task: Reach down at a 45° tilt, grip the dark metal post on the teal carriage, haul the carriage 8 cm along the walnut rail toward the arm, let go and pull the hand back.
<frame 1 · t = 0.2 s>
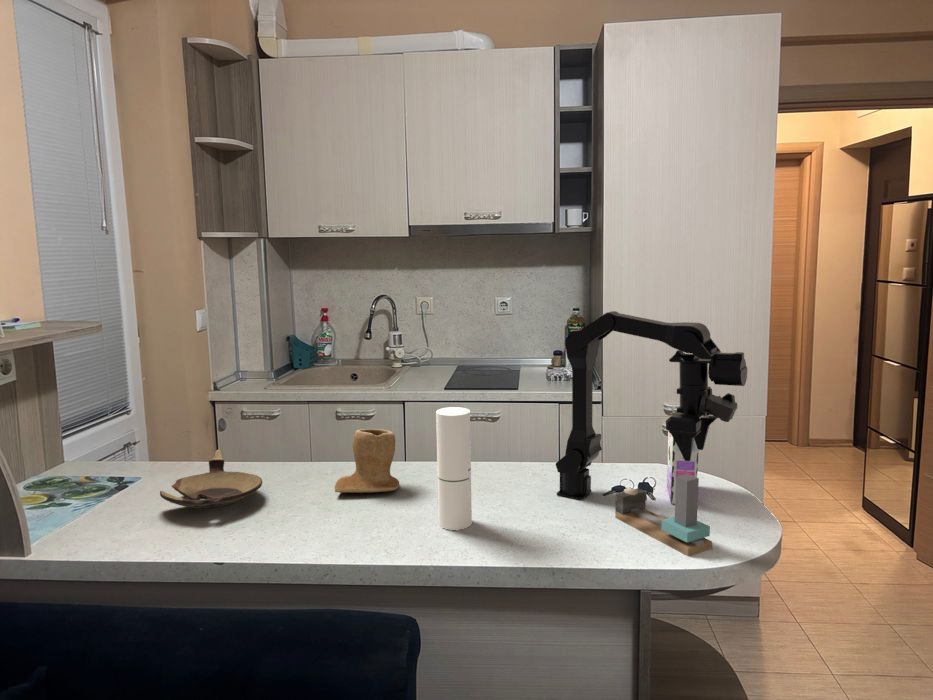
hand: (694, 455, 152), 14 cm above the counter, tool pointing down, fingers open, 9 cm apart
oil lamp: (219, 500, 171), on the counter
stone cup: (368, 489, 176), on the counter
candy box: (680, 495, 168), on the counter
carriage: (686, 505, 141), point 8 cm above the counter, slide at 0.0 cm
rail: (661, 532, 148), on the counter
cylindrical container: (455, 524, 154), on the counter
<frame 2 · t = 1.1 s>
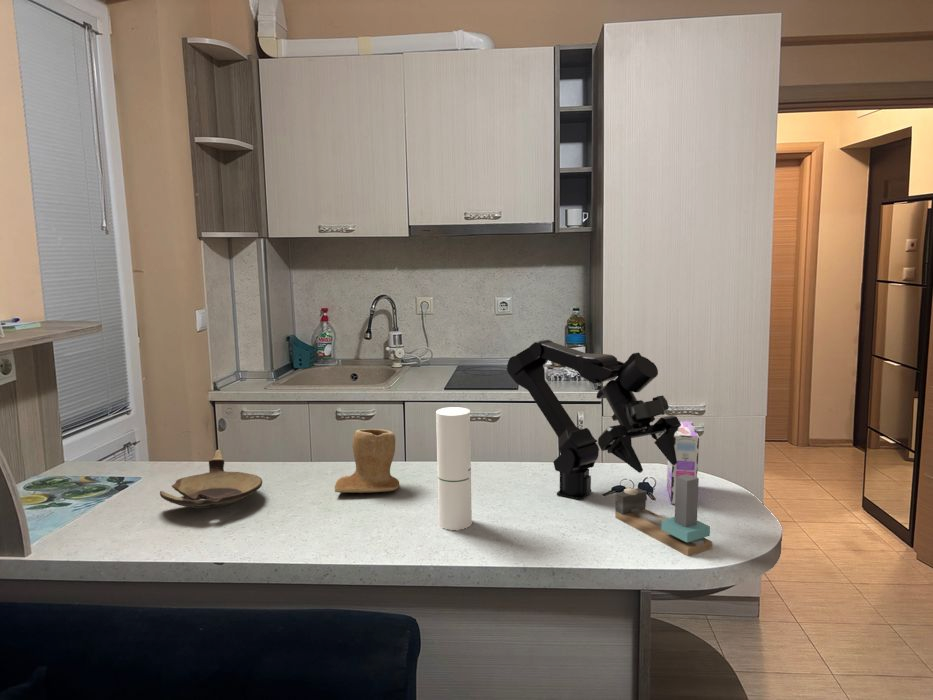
hand: (658, 468, 147), 14 cm above the counter, tool tilted 45°, fingers open, 9 cm apart
nothing on the counter moved.
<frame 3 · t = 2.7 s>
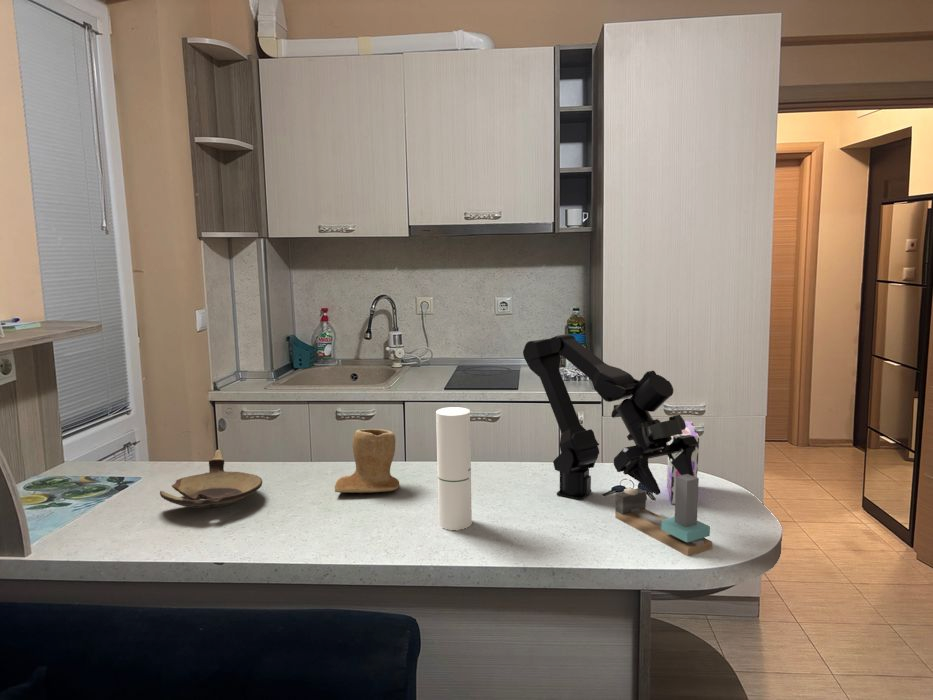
hand: (676, 489, 143), 11 cm above the counter, tool tilted 45°, fingers open, 9 cm apart
nothing on the counter moved.
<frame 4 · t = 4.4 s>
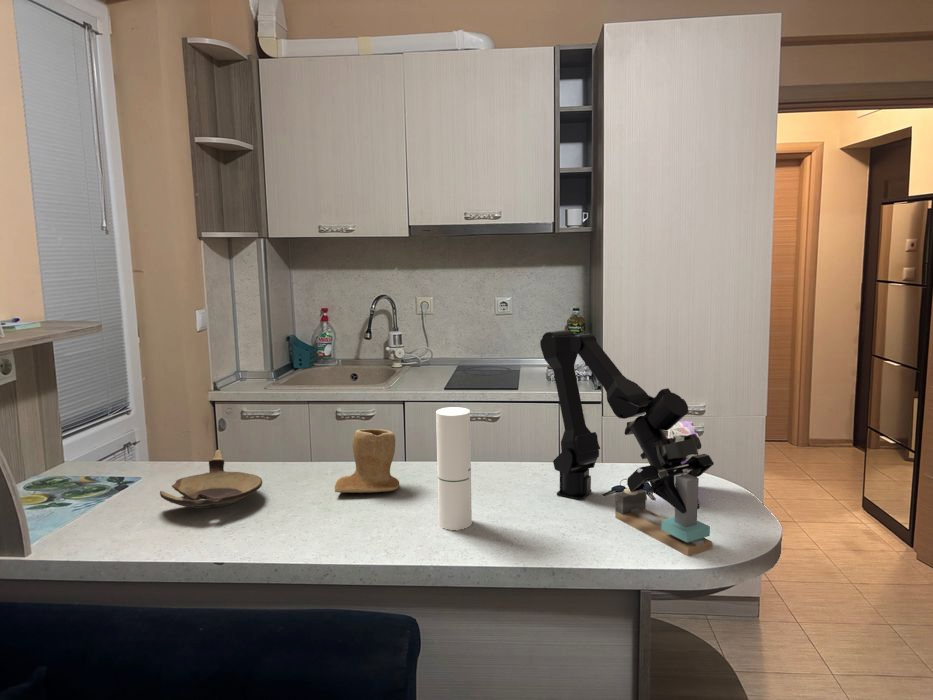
hand: (691, 510, 139), 8 cm above the counter, tool tilted 45°, fingers closed on carriage, 3 cm apart
carriage: (686, 505, 141), point 8 cm above the counter, slide at 0.0 cm, touching gripper
everything else where it was.
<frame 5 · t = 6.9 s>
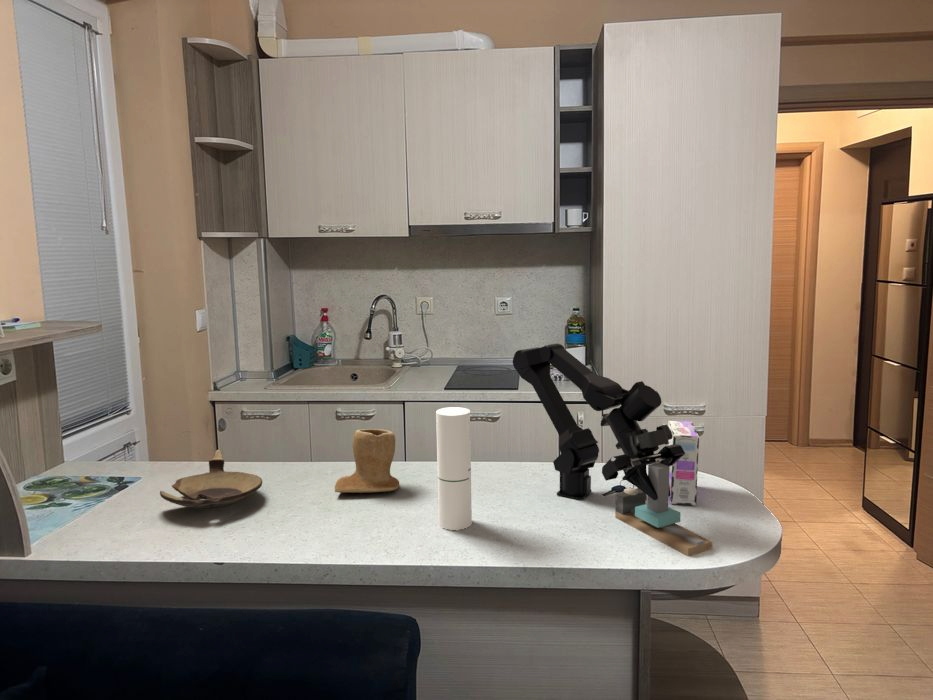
hand: (662, 497, 146), 8 cm above the counter, tool tilted 45°, fingers closed on carriage, 3 cm apart
carriage: (658, 492, 148), point 8 cm above the counter, slide at 8.0 cm, touching gripper
everything else where it was.
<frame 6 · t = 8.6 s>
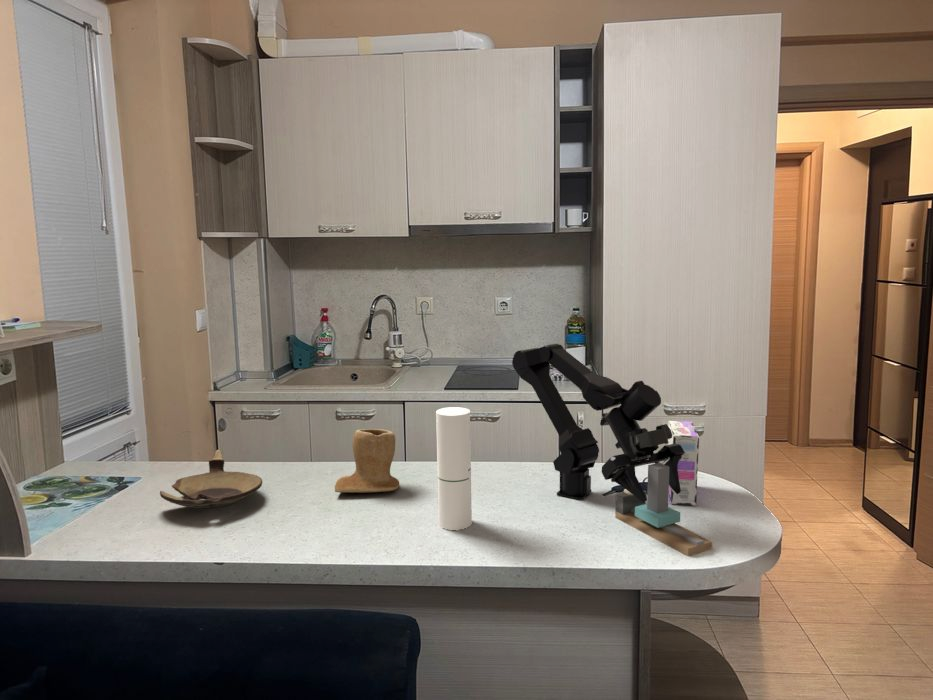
hand: (662, 497, 146), 8 cm above the counter, tool tilted 45°, fingers open, 9 cm apart
carriage: (657, 492, 148), point 8 cm above the counter, slide at 8.0 cm
everything else where it was.
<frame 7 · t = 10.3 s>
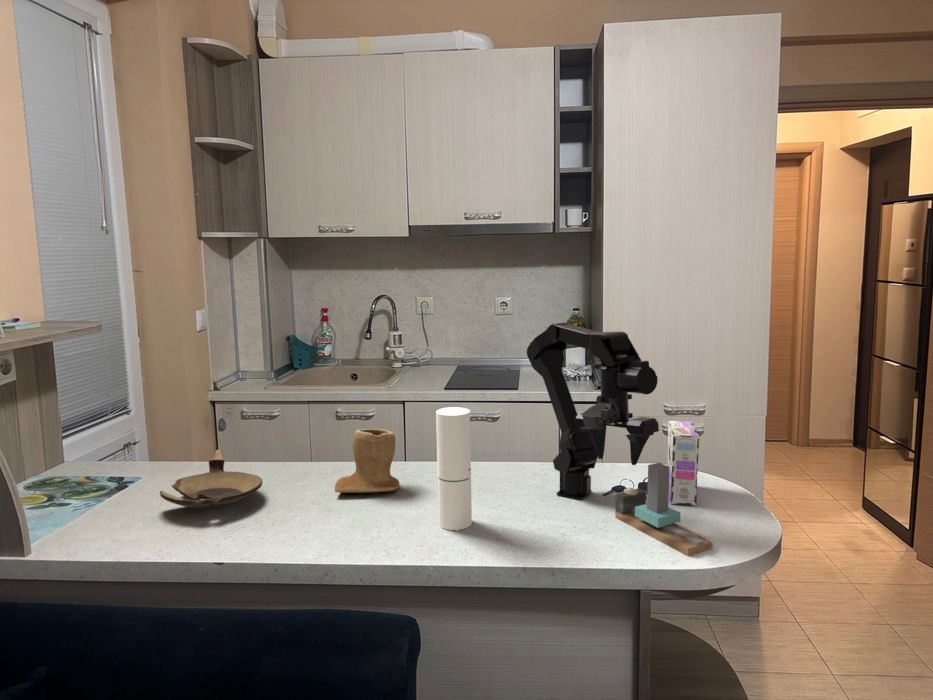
hand: (617, 461, 155), 12 cm above the counter, tool pointing down, fingers open, 9 cm apart
nothing on the counter moved.
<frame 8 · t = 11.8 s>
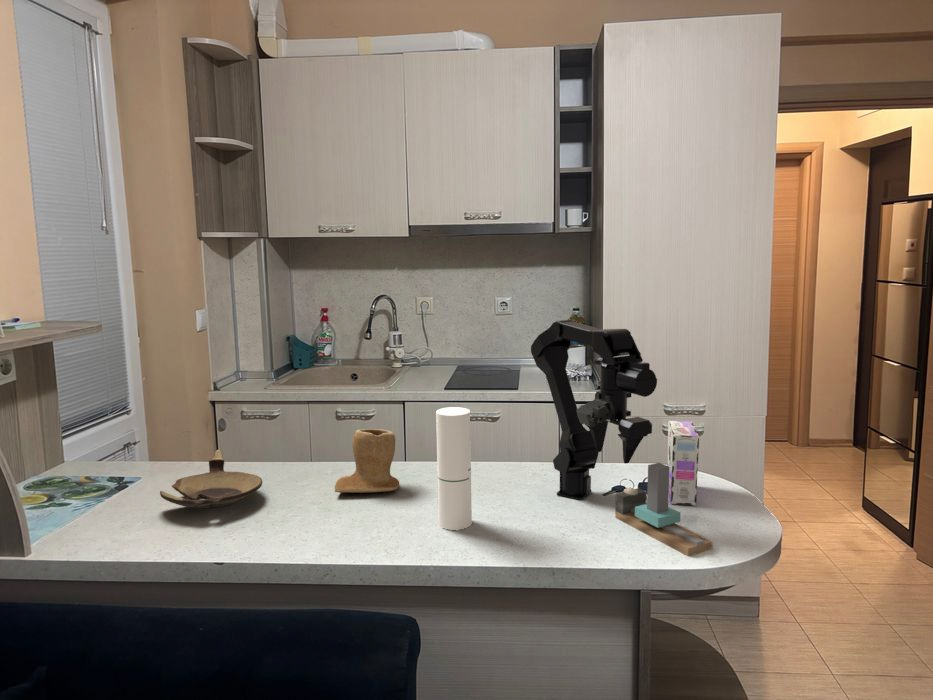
hand: (612, 457, 156), 13 cm above the counter, tool pointing down, fingers open, 9 cm apart
nothing on the counter moved.
at the end: carriage slide at 8.0 cm; the gripper is holding nothing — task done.
